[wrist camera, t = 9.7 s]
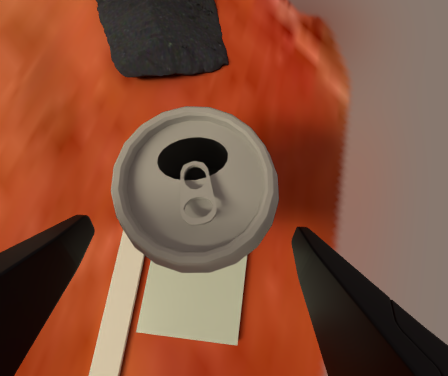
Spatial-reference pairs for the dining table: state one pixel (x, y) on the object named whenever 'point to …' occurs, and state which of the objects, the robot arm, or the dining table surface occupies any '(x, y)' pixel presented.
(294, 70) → the dining table surface
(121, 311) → the strip
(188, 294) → the pad
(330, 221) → the dining table surface
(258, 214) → the can
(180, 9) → the dark slate chunk
